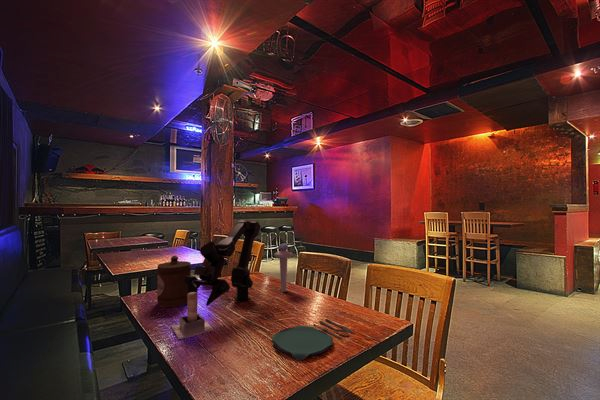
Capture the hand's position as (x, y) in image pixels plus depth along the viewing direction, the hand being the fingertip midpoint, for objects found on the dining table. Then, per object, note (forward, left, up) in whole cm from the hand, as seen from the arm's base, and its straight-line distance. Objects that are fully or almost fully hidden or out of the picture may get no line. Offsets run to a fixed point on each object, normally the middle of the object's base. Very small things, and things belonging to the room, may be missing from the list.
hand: (196, 303), depth 110 cm
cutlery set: (+34, +30, -9) cm, 46 cm away
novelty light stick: (-17, +50, -9) cm, 54 cm away
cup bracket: (+2, -2, -9) cm, 9 cm away
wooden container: (-33, -1, -9) cm, 35 cm away
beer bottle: (-53, +22, -9) cm, 58 cm away
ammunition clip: (-53, +39, -9) cm, 67 cm away
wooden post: (+2, -2, -8) cm, 8 cm away
